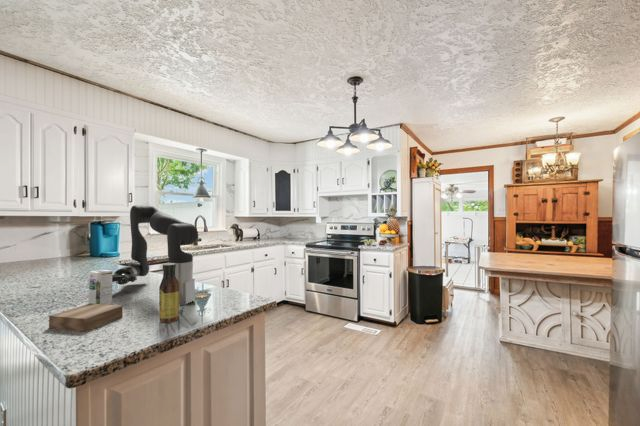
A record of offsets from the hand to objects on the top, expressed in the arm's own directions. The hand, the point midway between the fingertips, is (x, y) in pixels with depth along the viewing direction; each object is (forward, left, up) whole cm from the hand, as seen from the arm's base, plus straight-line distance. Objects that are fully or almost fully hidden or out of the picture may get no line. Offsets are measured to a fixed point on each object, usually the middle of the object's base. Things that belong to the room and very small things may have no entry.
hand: (111, 282), depth 128 cm
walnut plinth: (-15, +24, -8) cm, 29 cm away
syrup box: (-4, +9, -8) cm, 13 cm away
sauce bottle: (-41, +17, -8) cm, 45 cm away
